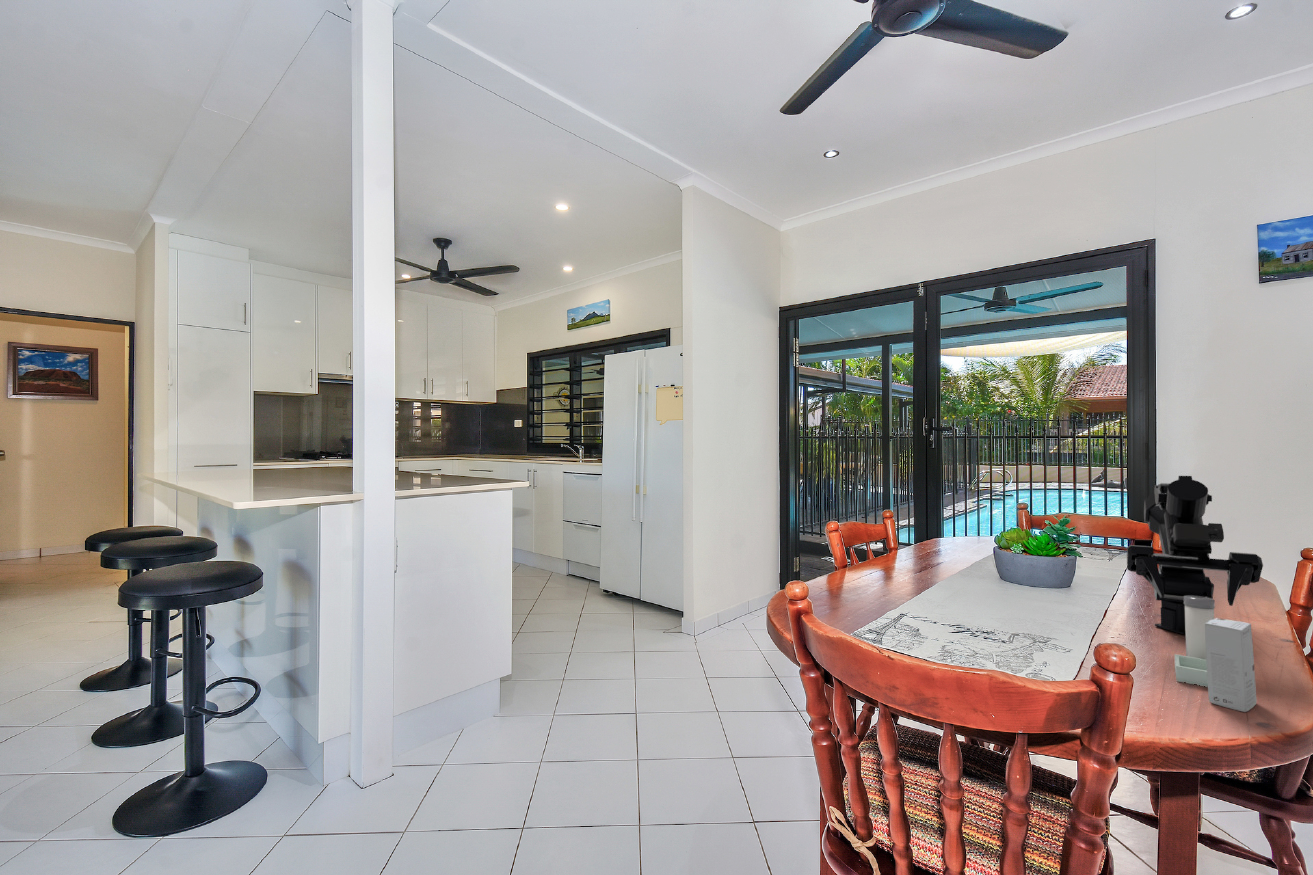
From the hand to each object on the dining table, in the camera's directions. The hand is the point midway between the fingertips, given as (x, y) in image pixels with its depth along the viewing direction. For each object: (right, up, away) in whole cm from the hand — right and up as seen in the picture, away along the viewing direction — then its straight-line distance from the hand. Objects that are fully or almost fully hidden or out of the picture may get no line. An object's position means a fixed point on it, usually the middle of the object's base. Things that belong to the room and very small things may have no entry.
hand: (1196, 600), depth 104 cm
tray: (-7, -11, -9) cm, 16 cm away
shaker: (-2, -11, -3) cm, 11 cm away
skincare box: (-12, -11, -18) cm, 24 cm away
